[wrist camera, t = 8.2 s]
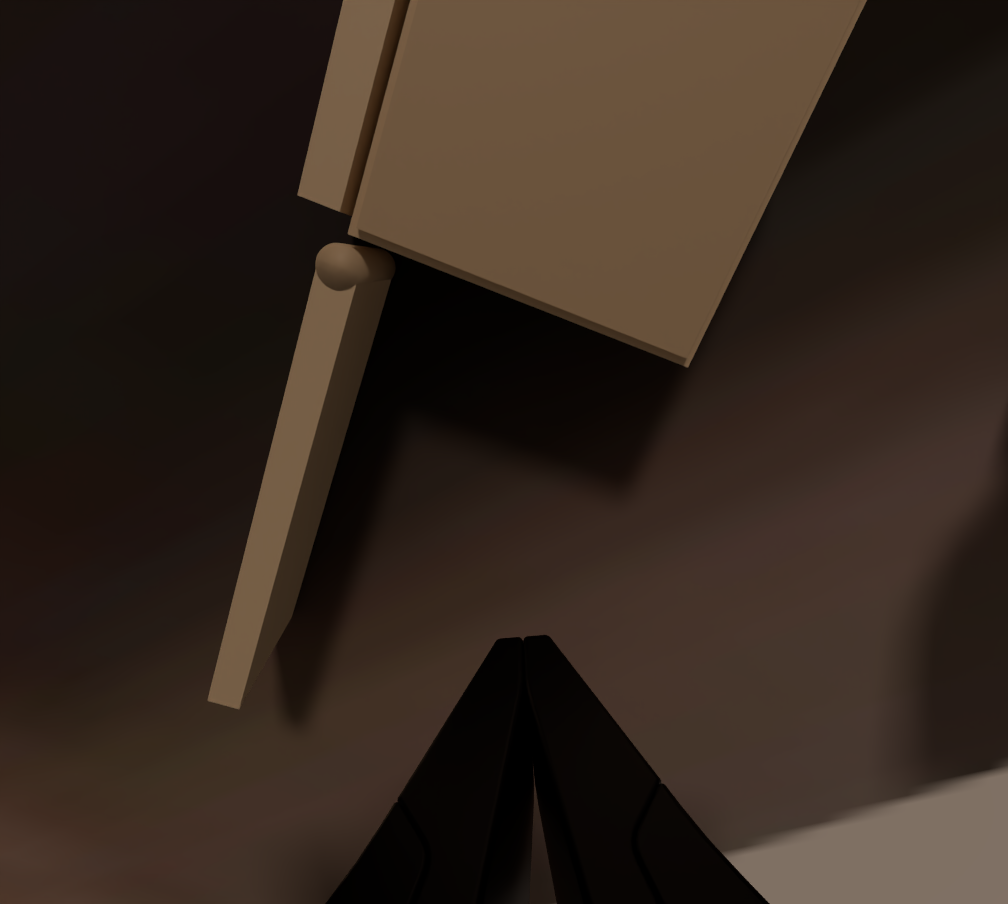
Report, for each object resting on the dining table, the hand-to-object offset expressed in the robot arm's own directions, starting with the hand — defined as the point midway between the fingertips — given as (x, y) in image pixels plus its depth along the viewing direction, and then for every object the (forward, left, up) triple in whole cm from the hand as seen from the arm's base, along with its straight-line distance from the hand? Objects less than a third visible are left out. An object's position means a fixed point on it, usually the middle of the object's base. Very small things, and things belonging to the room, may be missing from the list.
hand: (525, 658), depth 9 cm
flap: (+6, +3, -11) cm, 13 cm away
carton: (+2, -10, -12) cm, 15 cm away
